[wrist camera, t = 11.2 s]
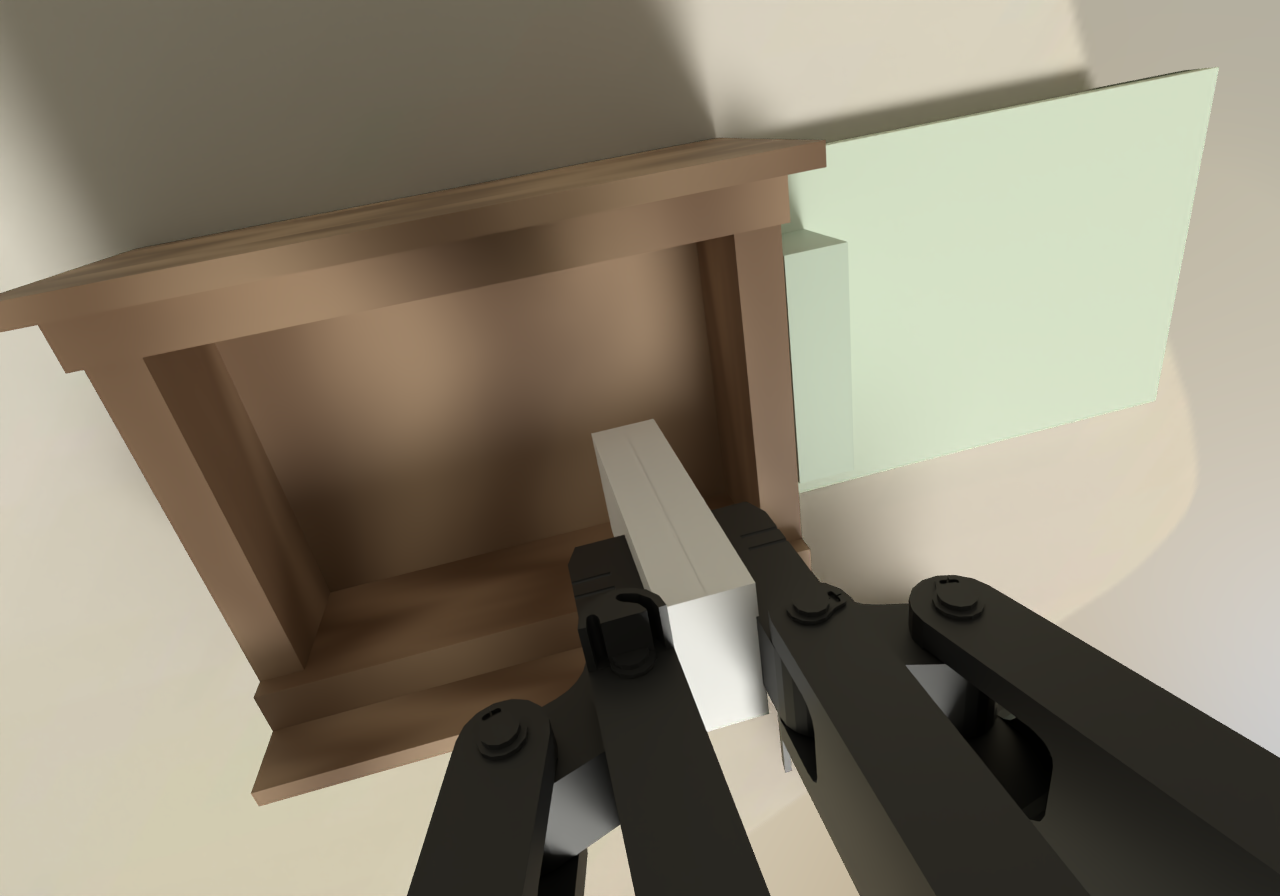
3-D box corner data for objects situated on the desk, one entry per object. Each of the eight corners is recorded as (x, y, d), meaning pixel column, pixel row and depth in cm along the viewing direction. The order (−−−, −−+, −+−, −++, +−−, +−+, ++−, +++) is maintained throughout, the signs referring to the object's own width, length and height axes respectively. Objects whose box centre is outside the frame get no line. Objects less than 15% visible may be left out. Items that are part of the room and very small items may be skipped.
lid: (752, 487, 25) (795, 544, 22) (717, 162, 20) (766, 169, 17) (1128, 390, 27) (1225, 429, 24) (1183, 70, 22) (1317, 58, 19)
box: (318, 628, 24) (258, 806, 17) (133, 249, 18) (-57, 311, 12) (755, 515, 25) (843, 639, 19) (717, 137, 20) (825, 140, 13)
